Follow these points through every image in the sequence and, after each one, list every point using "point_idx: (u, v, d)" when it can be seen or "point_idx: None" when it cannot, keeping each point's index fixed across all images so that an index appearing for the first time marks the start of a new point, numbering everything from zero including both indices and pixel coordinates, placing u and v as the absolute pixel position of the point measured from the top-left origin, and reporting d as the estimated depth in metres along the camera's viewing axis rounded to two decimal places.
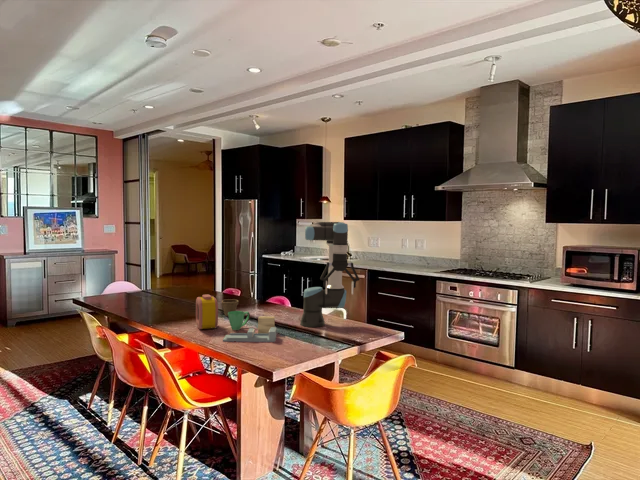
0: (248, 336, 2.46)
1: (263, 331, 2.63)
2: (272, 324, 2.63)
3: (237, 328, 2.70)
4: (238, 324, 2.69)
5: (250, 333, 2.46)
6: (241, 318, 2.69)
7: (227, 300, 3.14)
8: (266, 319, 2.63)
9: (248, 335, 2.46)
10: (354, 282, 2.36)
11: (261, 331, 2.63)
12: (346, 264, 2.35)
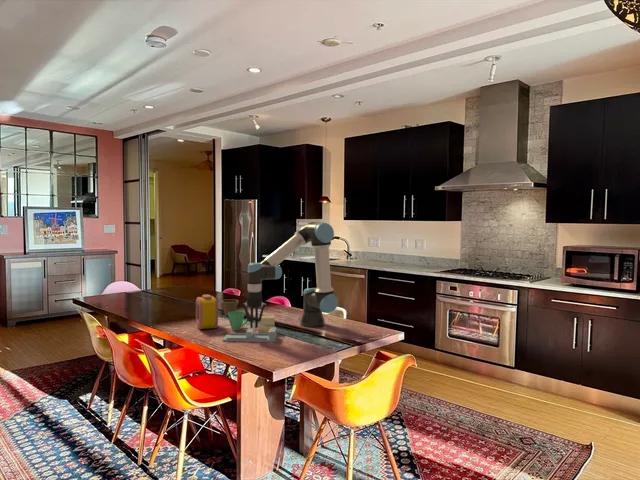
0: (247, 336, 2.46)
1: (263, 331, 2.63)
2: (272, 324, 2.63)
3: (237, 328, 2.70)
4: (238, 324, 2.69)
5: (249, 333, 2.46)
6: (241, 318, 2.69)
7: (227, 300, 3.14)
8: (266, 319, 2.63)
9: (247, 335, 2.46)
10: (256, 323, 2.50)
11: (261, 331, 2.63)
12: (260, 302, 2.49)
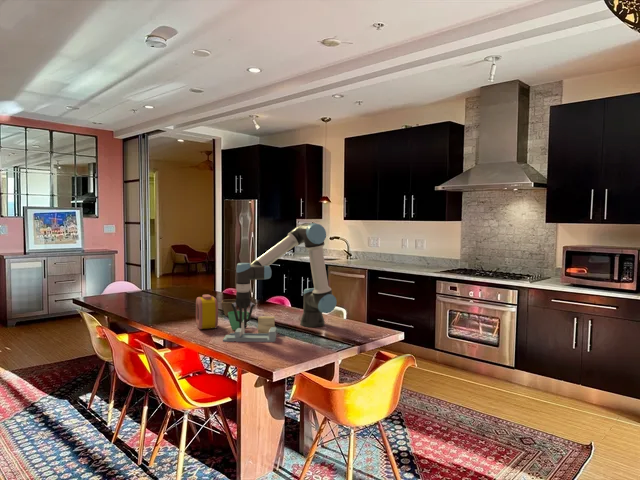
0: (236, 336, 2.46)
1: (263, 331, 2.63)
2: (272, 324, 2.63)
3: None
4: (238, 324, 2.69)
5: (238, 333, 2.46)
6: None
7: (227, 300, 3.14)
8: (266, 319, 2.63)
9: (236, 335, 2.46)
10: (245, 323, 2.50)
11: (261, 331, 2.63)
12: (248, 302, 2.49)
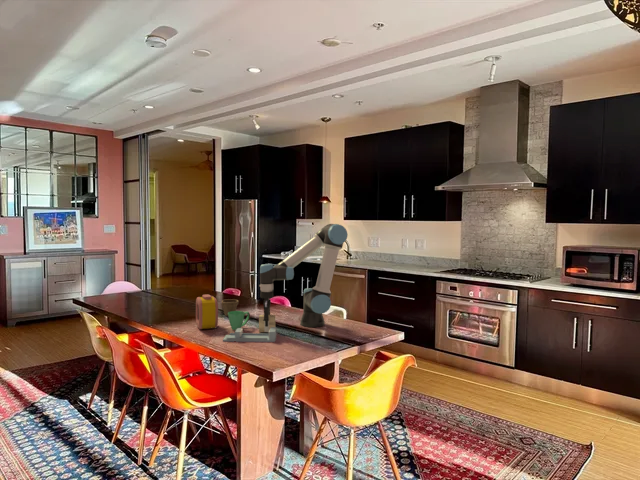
0: (236, 336, 2.46)
1: None
2: (273, 322, 2.63)
3: None
4: (238, 324, 2.69)
5: (238, 333, 2.46)
6: (241, 318, 2.69)
7: (227, 300, 3.14)
8: None
9: (236, 335, 2.46)
10: None
11: (262, 330, 2.63)
12: (264, 301, 2.61)
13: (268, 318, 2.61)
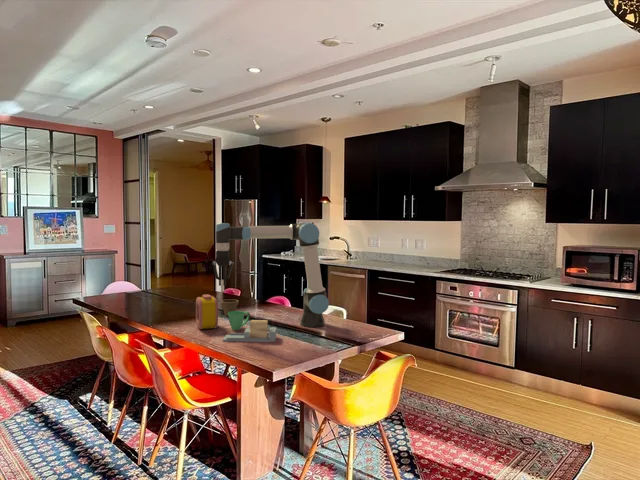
0: (245, 336, 2.46)
1: (255, 336, 2.48)
2: (265, 328, 2.48)
3: (237, 328, 2.70)
4: (238, 324, 2.69)
5: (247, 333, 2.46)
6: (241, 318, 2.69)
7: (227, 300, 3.14)
8: (258, 323, 2.48)
9: (245, 335, 2.46)
10: (224, 280, 2.60)
11: (253, 336, 2.48)
12: (228, 260, 2.59)
13: (226, 277, 2.62)
